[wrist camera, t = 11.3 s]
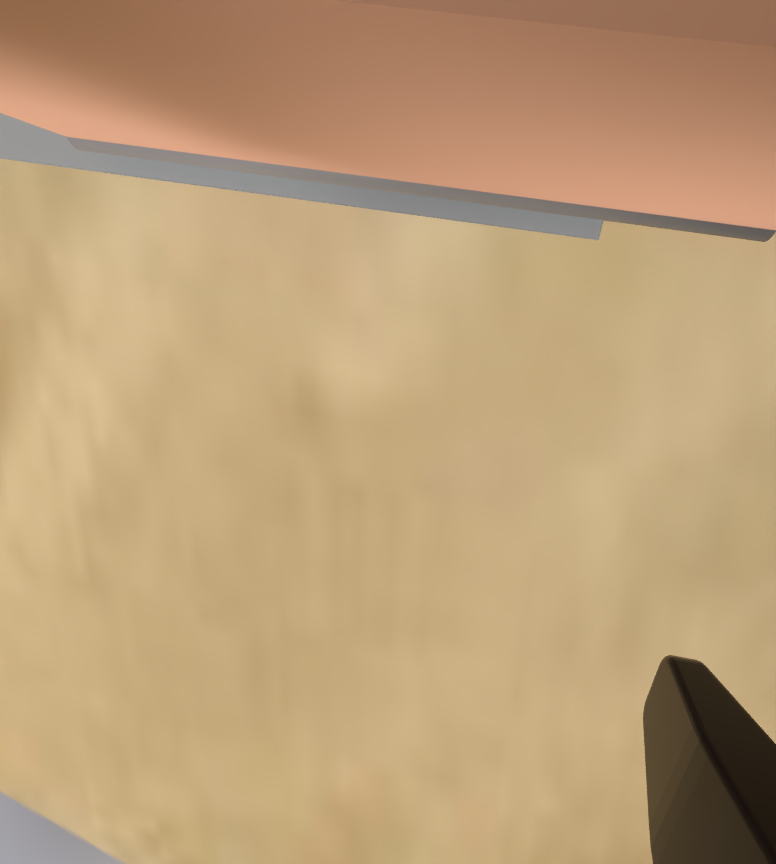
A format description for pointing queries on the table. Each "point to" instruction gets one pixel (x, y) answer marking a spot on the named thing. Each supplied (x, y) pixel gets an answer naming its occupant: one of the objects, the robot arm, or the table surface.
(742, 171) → the latch flap
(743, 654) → the table surface
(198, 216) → the table surface
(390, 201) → the hitch block
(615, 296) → the table surface
